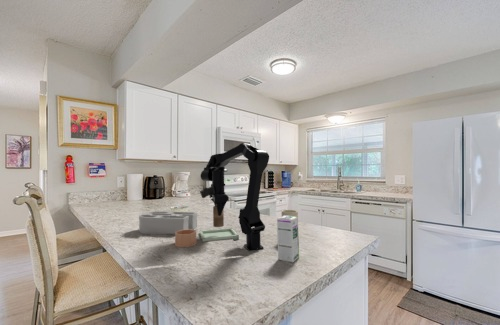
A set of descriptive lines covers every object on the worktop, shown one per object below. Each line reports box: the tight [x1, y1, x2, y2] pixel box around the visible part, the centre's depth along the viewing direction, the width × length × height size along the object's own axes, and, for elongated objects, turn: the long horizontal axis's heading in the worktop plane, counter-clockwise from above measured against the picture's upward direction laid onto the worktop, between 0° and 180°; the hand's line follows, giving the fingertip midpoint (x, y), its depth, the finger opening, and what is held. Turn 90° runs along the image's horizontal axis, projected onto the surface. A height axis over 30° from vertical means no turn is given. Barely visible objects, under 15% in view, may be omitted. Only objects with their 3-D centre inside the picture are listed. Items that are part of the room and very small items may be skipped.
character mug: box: [281, 209, 299, 218], centre depth 101 cm, size 11×7×13 cm, turn 164°
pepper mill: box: [212, 205, 225, 228], centre depth 107 cm, size 5×5×10 cm
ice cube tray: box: [138, 211, 198, 235], centre depth 120 cm, size 17×28×9 cm, turn 79°
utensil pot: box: [174, 229, 197, 248], centre depth 96 cm, size 9×9×6 cm
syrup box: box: [276, 215, 300, 263], centre depth 81 cm, size 6×6×14 cm
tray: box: [199, 227, 240, 243], centre depth 107 cm, size 14×16×2 cm
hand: (218, 214), depth 107 cm, fingers closed on pepper mill, 5 cm apart
